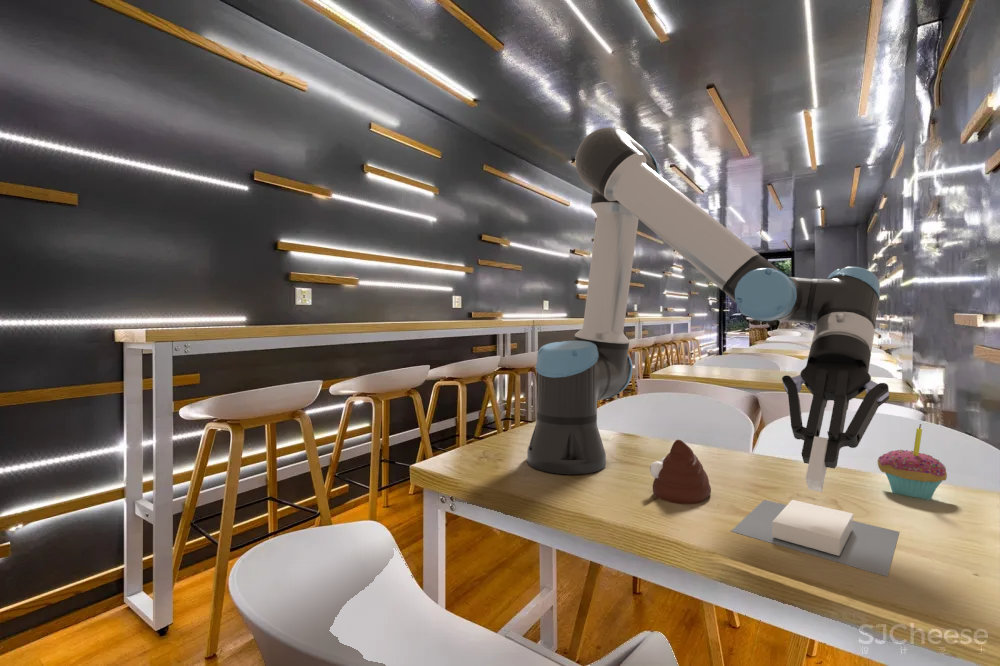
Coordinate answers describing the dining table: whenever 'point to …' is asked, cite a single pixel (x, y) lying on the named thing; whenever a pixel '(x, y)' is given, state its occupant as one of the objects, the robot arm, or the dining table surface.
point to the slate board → (861, 551)
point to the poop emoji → (680, 476)
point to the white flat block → (813, 526)
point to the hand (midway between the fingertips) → (813, 485)
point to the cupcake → (912, 471)
